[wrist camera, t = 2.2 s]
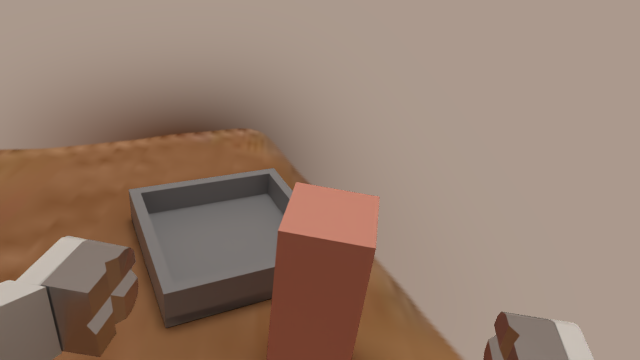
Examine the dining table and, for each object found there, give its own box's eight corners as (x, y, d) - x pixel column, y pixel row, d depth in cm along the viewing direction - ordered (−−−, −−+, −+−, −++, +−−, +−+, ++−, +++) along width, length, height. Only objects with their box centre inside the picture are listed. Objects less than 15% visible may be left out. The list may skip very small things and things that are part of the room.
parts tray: (335, 280, 38) (341, 250, 36) (165, 327, 32) (163, 294, 30) (271, 194, 47) (273, 168, 46) (131, 219, 41) (128, 189, 40)
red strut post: (263, 394, 28) (278, 230, 22) (280, 334, 32) (296, 182, 26) (340, 409, 28) (375, 248, 22) (347, 347, 32) (379, 196, 26)
